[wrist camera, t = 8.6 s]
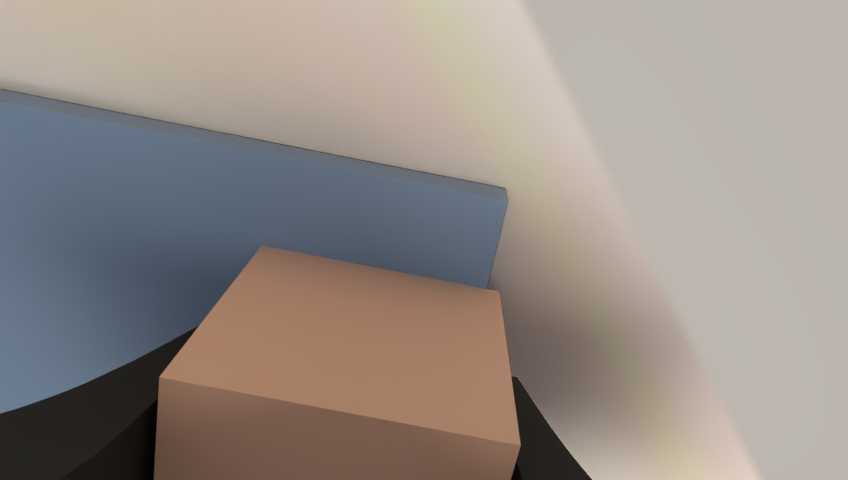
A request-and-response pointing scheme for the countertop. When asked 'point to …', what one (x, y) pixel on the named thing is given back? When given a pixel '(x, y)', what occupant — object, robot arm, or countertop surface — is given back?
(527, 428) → the robot arm
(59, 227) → the blueprint board
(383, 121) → the countertop surface
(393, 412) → the terracotta block
